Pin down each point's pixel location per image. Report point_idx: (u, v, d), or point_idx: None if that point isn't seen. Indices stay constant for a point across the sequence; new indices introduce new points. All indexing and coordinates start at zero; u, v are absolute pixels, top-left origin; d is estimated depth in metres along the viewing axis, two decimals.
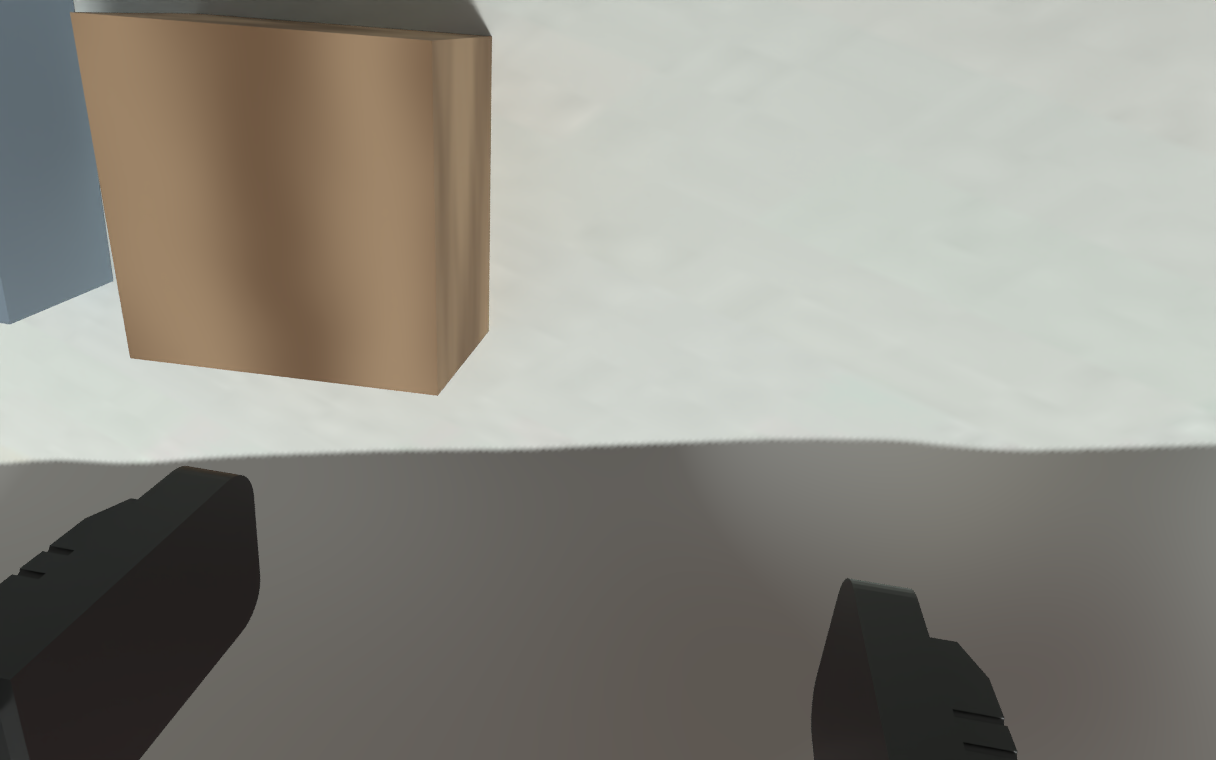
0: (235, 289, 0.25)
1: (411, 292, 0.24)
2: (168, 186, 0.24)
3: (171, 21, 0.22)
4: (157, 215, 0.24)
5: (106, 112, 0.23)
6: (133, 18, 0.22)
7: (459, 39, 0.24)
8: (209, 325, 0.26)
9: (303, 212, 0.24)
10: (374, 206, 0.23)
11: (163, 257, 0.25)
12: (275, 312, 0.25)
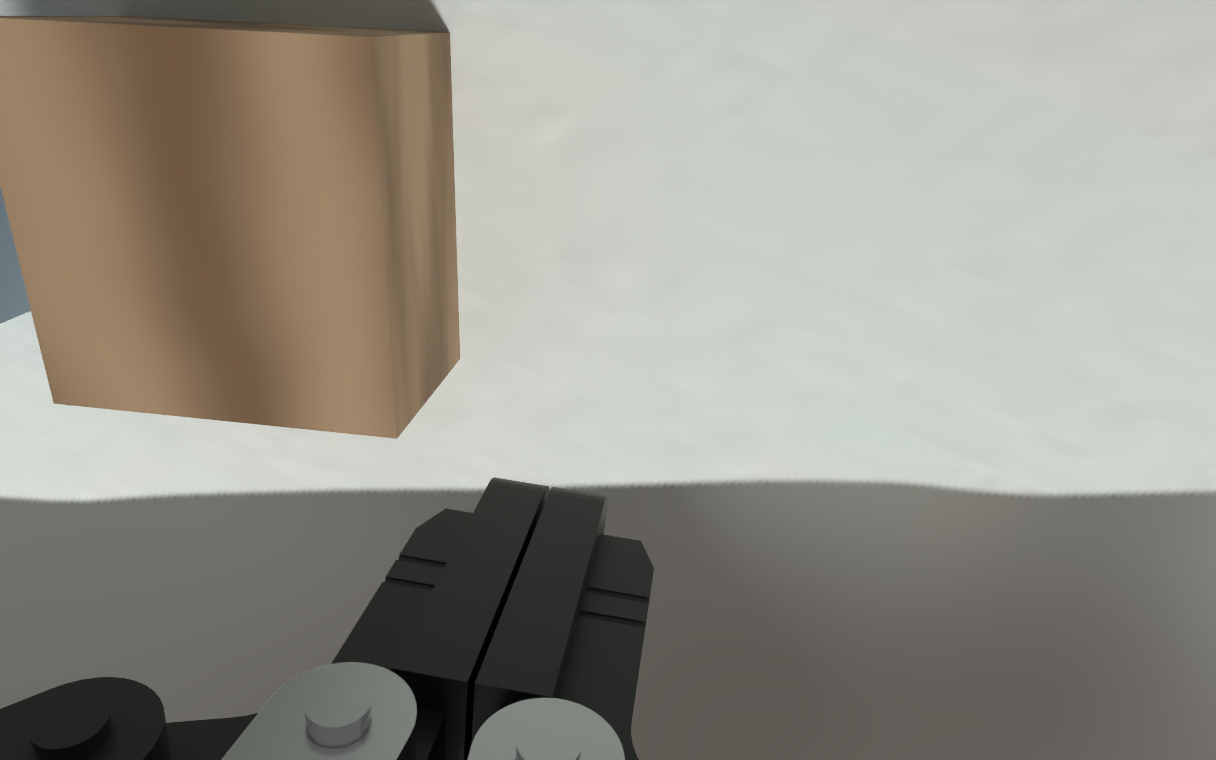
0: (165, 324, 0.22)
1: (362, 324, 0.21)
2: (84, 210, 0.21)
3: (73, 23, 0.19)
4: (73, 244, 0.22)
5: (8, 129, 0.21)
6: (30, 21, 0.19)
7: (407, 35, 0.21)
8: (138, 365, 0.23)
9: (235, 237, 0.21)
10: (315, 228, 0.21)
11: (83, 291, 0.22)
12: (210, 349, 0.22)
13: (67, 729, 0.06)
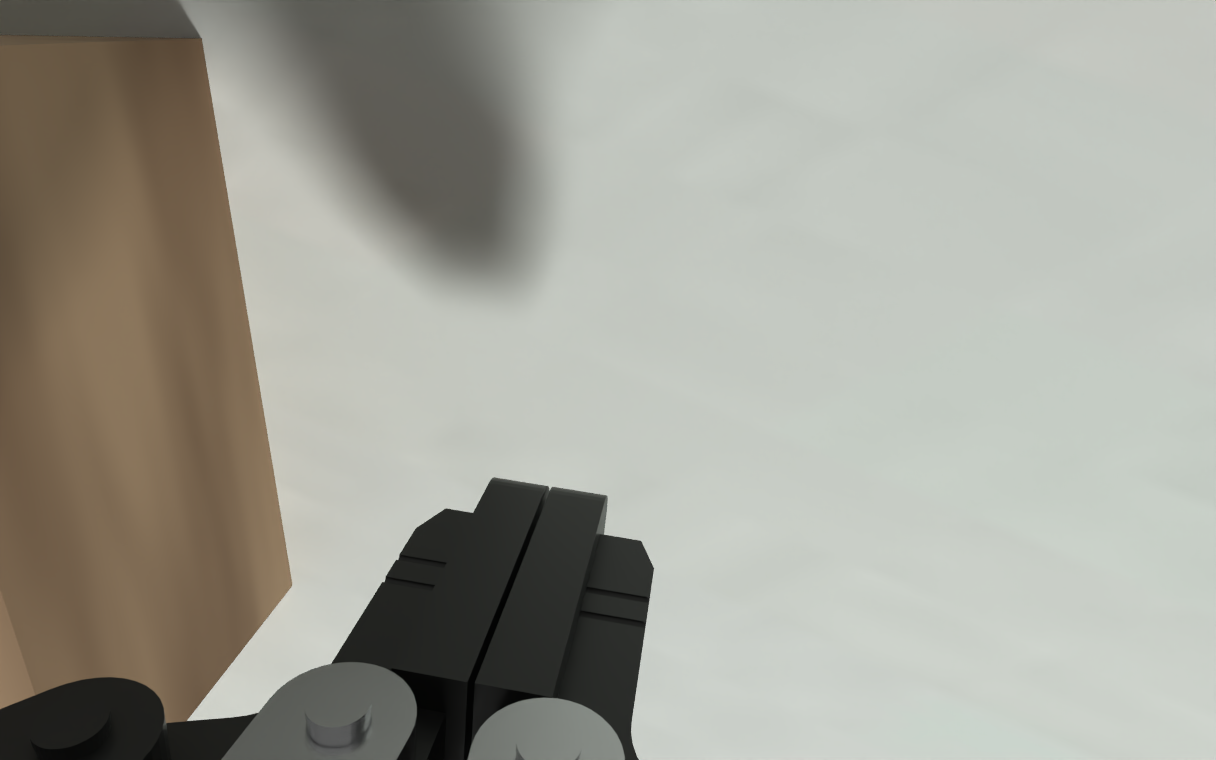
0: None
1: None
2: None
3: None
4: None
5: None
6: None
7: (28, 46, 0.10)
8: None
9: None
10: None
11: None
12: None
13: (67, 729, 0.06)
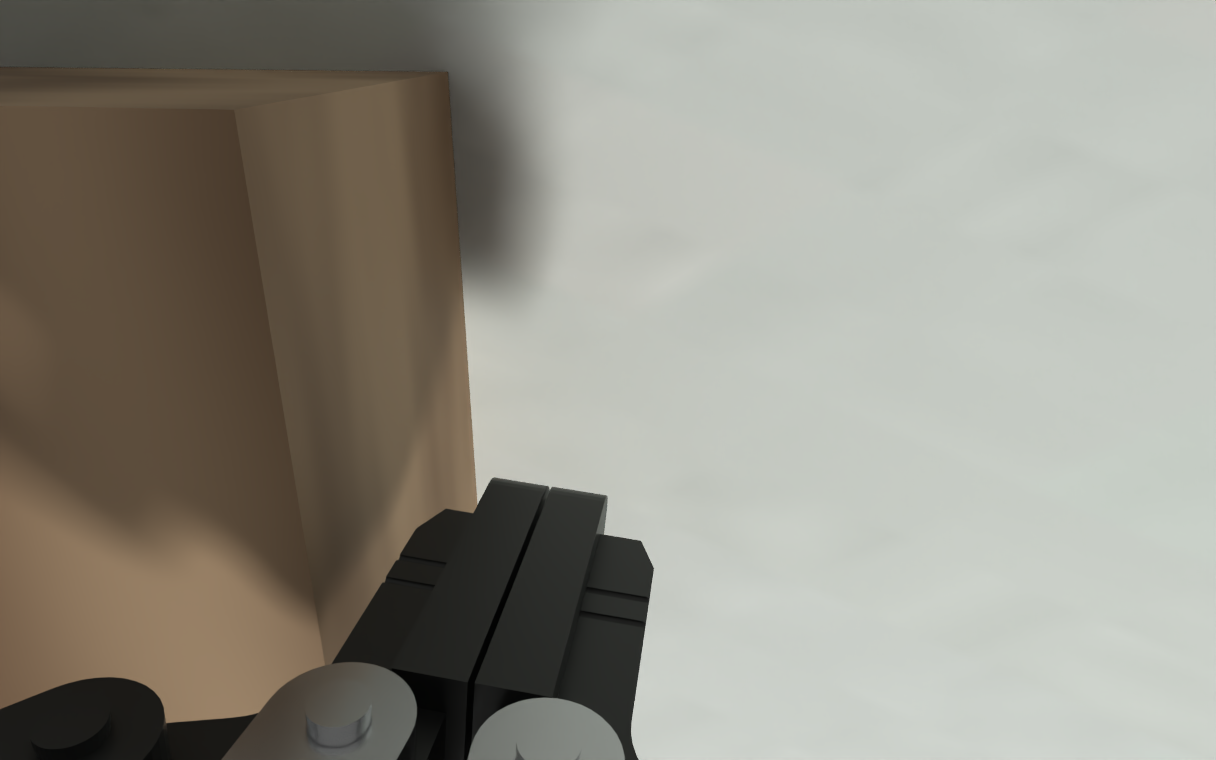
0: None
1: None
2: None
3: None
4: None
5: None
6: None
7: (351, 91, 0.09)
8: None
9: None
10: (152, 541, 0.09)
11: None
12: None
13: (67, 729, 0.06)
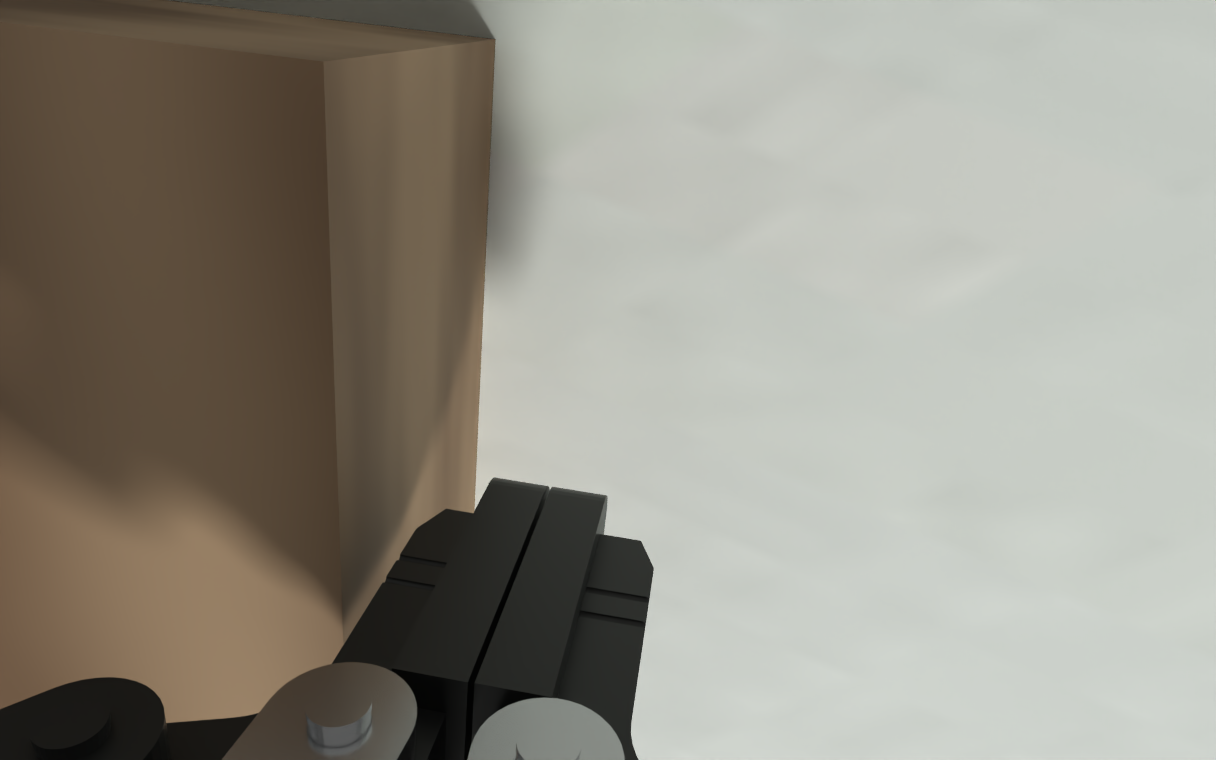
0: None
1: (285, 676, 0.10)
2: None
3: None
4: None
5: None
6: None
7: (417, 51, 0.09)
8: None
9: (0, 485, 0.09)
10: (179, 487, 0.09)
11: None
12: None
13: (67, 727, 0.06)
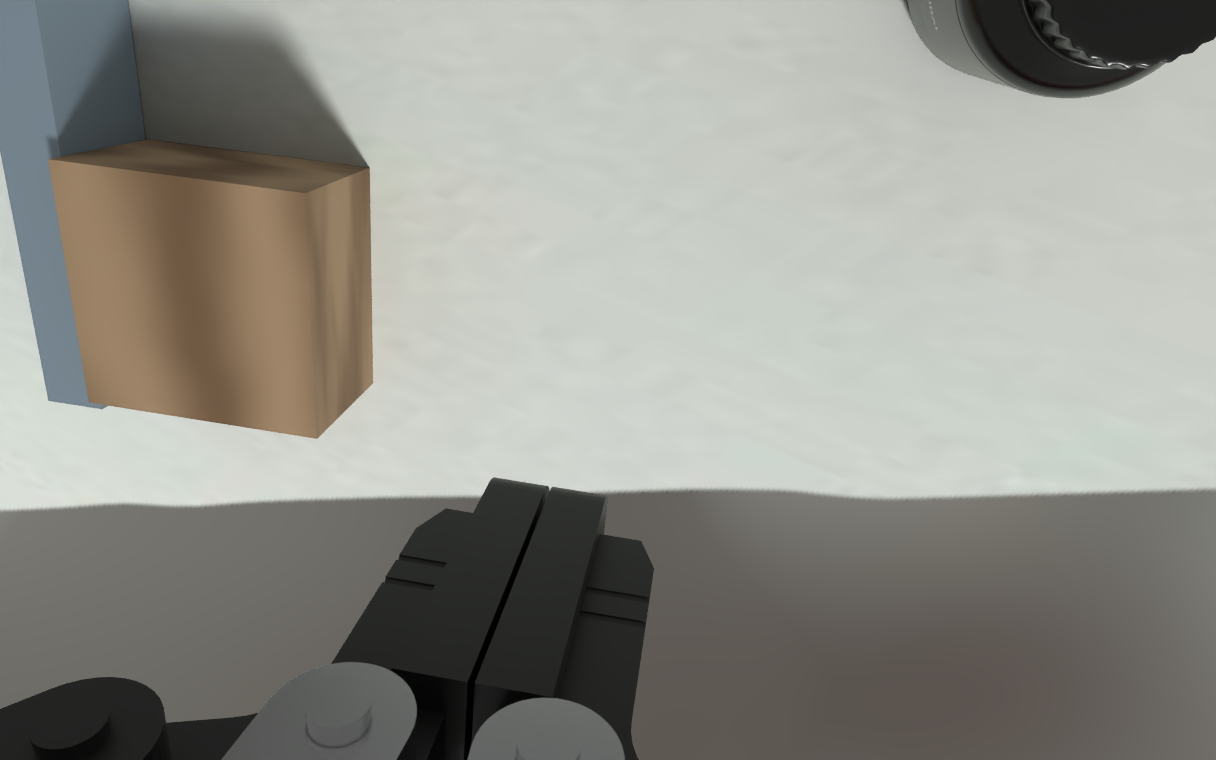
0: (167, 356, 0.34)
1: (296, 364, 0.33)
2: (118, 281, 0.33)
3: (121, 169, 0.31)
4: (110, 301, 0.33)
5: (73, 228, 0.32)
6: (93, 166, 0.31)
7: (334, 182, 0.32)
8: (148, 380, 0.34)
9: (216, 304, 0.33)
10: (267, 303, 0.32)
11: (114, 331, 0.34)
12: (196, 374, 0.34)
13: (67, 729, 0.06)
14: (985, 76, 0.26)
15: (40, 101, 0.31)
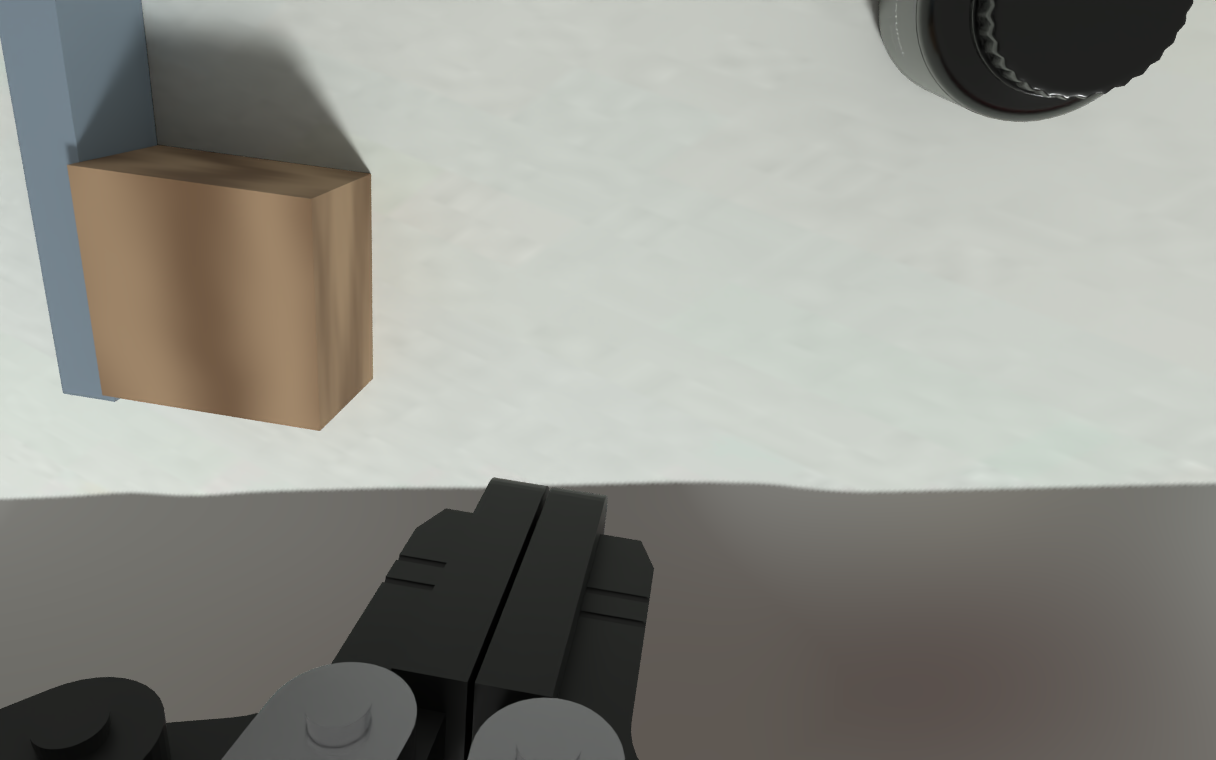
0: (178, 352, 0.36)
1: (300, 359, 0.35)
2: (132, 280, 0.35)
3: (136, 175, 0.33)
4: (124, 299, 0.35)
5: (90, 230, 0.34)
6: (110, 171, 0.33)
7: (337, 188, 0.34)
8: (159, 375, 0.36)
9: (225, 303, 0.34)
10: (274, 302, 0.34)
11: (128, 328, 0.35)
12: (205, 368, 0.36)
13: (68, 728, 0.06)
14: (946, 98, 0.28)
15: (60, 109, 0.33)
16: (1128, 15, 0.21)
